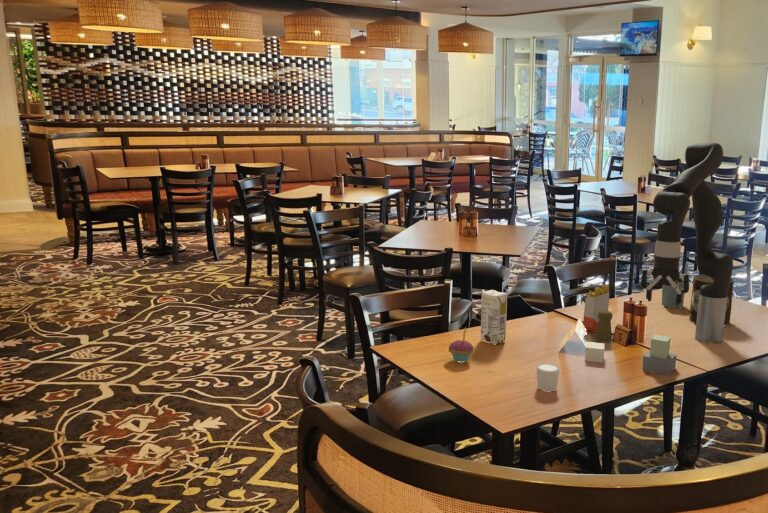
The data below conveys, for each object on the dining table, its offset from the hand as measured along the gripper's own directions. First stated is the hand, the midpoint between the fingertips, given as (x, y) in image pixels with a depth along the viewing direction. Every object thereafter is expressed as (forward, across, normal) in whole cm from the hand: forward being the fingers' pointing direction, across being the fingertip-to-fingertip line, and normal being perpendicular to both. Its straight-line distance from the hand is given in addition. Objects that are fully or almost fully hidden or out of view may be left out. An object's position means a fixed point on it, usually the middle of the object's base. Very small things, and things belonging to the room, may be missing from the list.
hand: (663, 302), depth 209 cm
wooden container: (+23, -7, -64) cm, 68 cm away
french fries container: (+23, +29, -28) cm, 46 cm away
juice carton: (+23, +57, +6) cm, 62 cm away
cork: (+23, +23, -19) cm, 38 cm away
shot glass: (+23, +25, +36) cm, 49 cm away
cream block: (+23, +20, +3) cm, 31 cm away
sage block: (+18, 0, +1) cm, 18 cm away
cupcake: (+23, +58, +30) cm, 69 cm away
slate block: (+23, 0, +1) cm, 23 cm away
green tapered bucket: (+23, +10, -80) cm, 84 cm away
